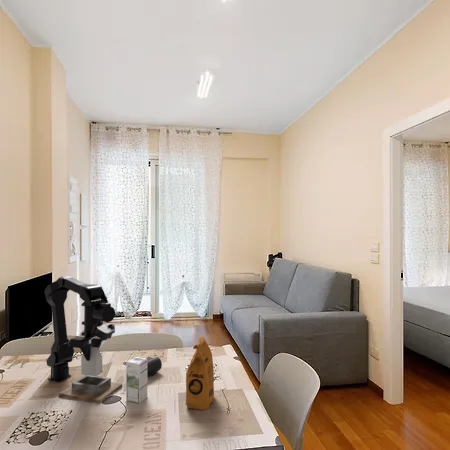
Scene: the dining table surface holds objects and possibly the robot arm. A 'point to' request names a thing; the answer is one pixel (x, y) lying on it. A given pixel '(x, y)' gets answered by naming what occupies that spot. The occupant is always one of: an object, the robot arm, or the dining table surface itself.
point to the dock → (91, 389)
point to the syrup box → (136, 379)
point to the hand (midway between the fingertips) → (91, 358)
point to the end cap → (153, 365)
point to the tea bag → (92, 363)
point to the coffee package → (200, 378)
